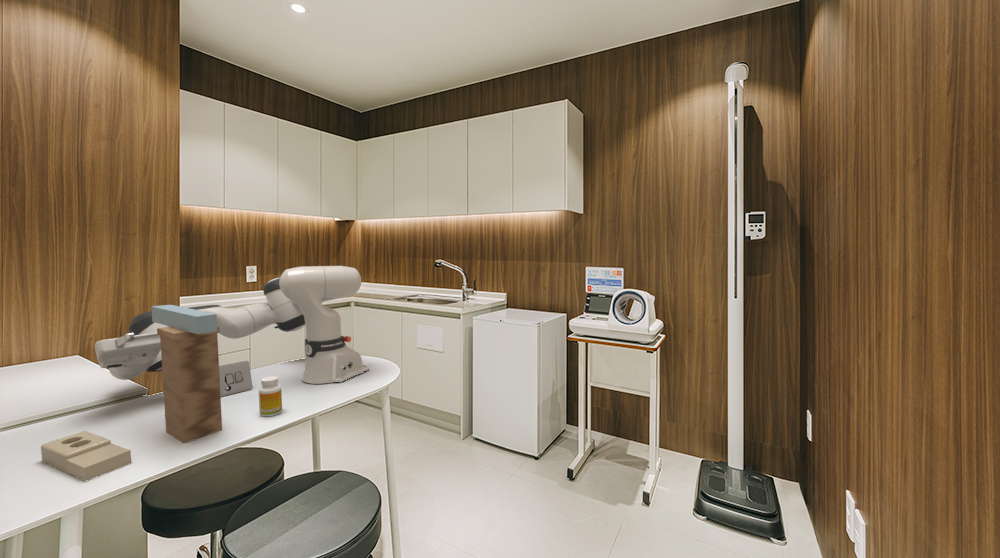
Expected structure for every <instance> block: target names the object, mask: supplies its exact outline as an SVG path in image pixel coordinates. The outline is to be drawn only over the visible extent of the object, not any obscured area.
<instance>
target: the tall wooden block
mask: <svg viewBox="0 0 1000 558" xmlns="http://www.w3.org/2000/svg"><path fill="white" fill-rule="evenodd" d="M218 334H220V331H219V327H218V326H217V331H215V332H208V333H202V334H194V333H191V332H187V331H184V330H180V329H177V328H173V327H163V328H157V335H160V342H161V358H162V372H161V373H162V386H163V401H164V403H163V405H164V419H165V432H166V433H167V434H168V435H170V436H172V437H173V438H175V439H176V440H178V441H180V442H181V443H183V444H184V443H189V442H191V441H193V440H197V439H200V438H202V437H206V436H208V435H211V434H213V433H217V432H220V431H222V430H223V420H222V418H223V417H222V400H221V399H222V398H221V396H220V377H219V366H220V364H219V363H220V361H219V359H220V358H219V357H220V356H219V339H218Z"/></svg>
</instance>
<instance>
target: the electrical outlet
mask: <svg viewBox="0 0 1000 558" xmlns="http://www.w3.org/2000/svg"><path fill="white" fill-rule="evenodd" d="M131 452H132V451H131V450H130V449H127V448H125V447H122V446H120V445H117V444H114V443H112V442H111V440H110V439H107V438H106V437H103V436H100V435H98V434H94V433H92V432H89V431H86V430H84V431H80V432H77V433H74V434H70V435H67V436H65V437H61V438H59V439H56V440H51V441H49V442H46V443H43V444H42V445H40V453H41V454H40V455H41V462H43V463H45V464H47V465H49V466H51V467H53V468H55V467H56V468H55V469H58V470H59V471H62V472H65V473H66V472H67V474H68V473H69V475H71V476H73V477H75V478H77V477H78V479H79V478H80V479H79V480H82V479H83V480H82V481H84V480H85V481H84V482H87V481H86V480H88V481H90V480H92V479H91V478H93V479H95V478H97V477H96V476H98V477H100V476H102V475H101V474H103V475H104V473H105V474H107V473H110V472H113V471H115V470H117V469H119V468H122V467H124V466H127V465H129V463H130V464H132V454H131ZM99 475H100V476H99ZM94 477H95V478H94ZM89 479H90V480H89Z"/></svg>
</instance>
